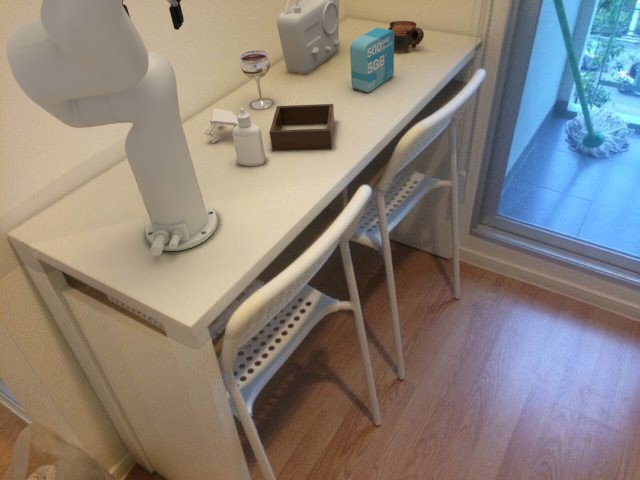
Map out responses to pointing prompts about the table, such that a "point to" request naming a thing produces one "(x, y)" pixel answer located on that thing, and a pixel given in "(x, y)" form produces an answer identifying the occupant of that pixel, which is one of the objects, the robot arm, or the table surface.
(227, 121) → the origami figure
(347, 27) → the table surface
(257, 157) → the eye dropper bottle
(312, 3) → the radio
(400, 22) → the pottery mug
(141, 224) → the table surface
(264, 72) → the wineglass
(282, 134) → the square wooden box frame
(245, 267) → the table surface
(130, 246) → the table surface
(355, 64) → the data package
